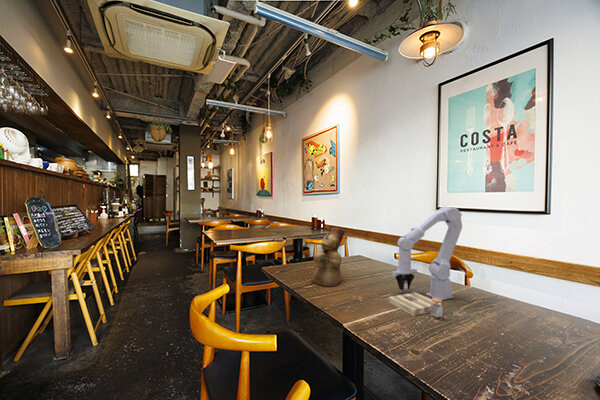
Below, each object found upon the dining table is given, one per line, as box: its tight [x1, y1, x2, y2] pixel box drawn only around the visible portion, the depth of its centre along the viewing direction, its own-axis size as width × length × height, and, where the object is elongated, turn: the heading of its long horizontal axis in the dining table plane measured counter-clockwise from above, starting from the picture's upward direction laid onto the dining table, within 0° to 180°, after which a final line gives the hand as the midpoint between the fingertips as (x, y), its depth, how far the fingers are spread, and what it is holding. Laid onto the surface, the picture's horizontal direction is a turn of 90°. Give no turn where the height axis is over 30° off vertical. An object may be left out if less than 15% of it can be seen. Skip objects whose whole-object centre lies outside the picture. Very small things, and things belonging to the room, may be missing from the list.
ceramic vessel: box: [311, 227, 345, 288], centre depth 142 cm, size 16×22×30 cm
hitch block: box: [388, 292, 443, 317], centre depth 111 cm, size 16×14×2 cm
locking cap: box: [431, 297, 443, 307], centre depth 100 cm, size 4×4×4 cm
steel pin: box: [400, 279, 409, 295], centre depth 124 cm, size 3×3×7 cm
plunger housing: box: [429, 304, 443, 318], centre depth 100 cm, size 3×3×4 cm
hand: (404, 289), depth 124 cm, fingers closed on steel pin, 3 cm apart
